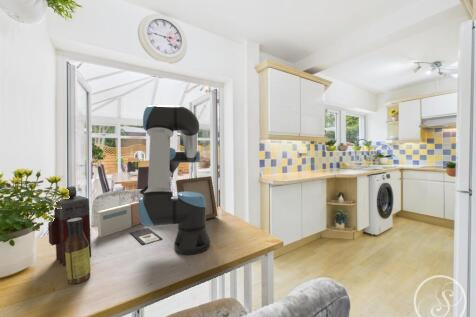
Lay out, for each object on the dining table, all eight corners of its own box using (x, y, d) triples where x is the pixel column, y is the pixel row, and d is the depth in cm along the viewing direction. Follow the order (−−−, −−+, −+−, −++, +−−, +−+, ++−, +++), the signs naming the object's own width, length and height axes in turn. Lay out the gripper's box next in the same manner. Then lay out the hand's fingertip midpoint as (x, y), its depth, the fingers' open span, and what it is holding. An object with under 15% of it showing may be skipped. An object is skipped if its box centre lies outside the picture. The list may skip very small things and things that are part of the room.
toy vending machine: (48, 261, 83) (44, 187, 81) (83, 250, 92) (80, 183, 90) (55, 269, 77) (51, 190, 76) (91, 256, 86) (88, 186, 85)
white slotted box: (101, 237, 105) (100, 212, 104) (98, 235, 106) (97, 211, 106) (132, 226, 119) (131, 204, 118) (128, 225, 120) (128, 204, 120)
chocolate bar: (148, 227, 115) (162, 238, 102) (148, 229, 115) (162, 240, 102) (129, 232, 109) (142, 244, 96) (129, 234, 109) (142, 246, 96)
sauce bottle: (95, 273, 74) (92, 215, 73) (82, 284, 68) (80, 222, 67) (75, 273, 74) (72, 216, 73) (61, 285, 68) (58, 222, 67)
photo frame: (217, 217, 133) (216, 176, 132) (185, 226, 118) (184, 180, 117) (204, 212, 144) (203, 174, 143) (173, 220, 129) (171, 178, 128)
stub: (132, 226, 119) (132, 204, 118) (129, 225, 121) (128, 203, 120) (145, 221, 126) (144, 201, 125) (142, 220, 127) (141, 200, 127)
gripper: (181, 181, 136) (162, 211, 123) (154, 179, 148) (134, 206, 136) (174, 174, 131) (154, 204, 119) (147, 172, 143) (126, 199, 131)
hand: (143, 205), depth 127 cm, fingers open, 13 cm apart
